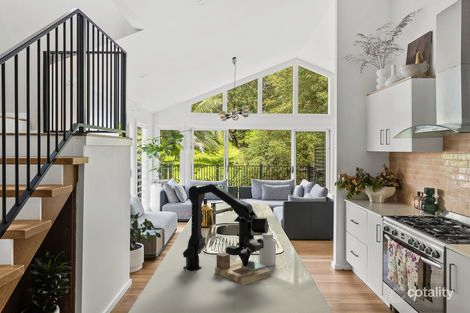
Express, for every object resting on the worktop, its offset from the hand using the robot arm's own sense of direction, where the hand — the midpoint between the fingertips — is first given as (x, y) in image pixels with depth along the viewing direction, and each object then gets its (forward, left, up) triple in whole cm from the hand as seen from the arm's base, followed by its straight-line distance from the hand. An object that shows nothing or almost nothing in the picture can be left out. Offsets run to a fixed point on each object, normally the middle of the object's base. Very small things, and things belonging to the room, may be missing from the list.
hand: (245, 266), depth 163 cm
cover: (0, +5, -1) cm, 5 cm away
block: (-10, -5, -2) cm, 11 cm away
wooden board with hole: (-2, 0, -4) cm, 4 cm away
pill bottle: (-4, +19, -4) cm, 20 cm away
